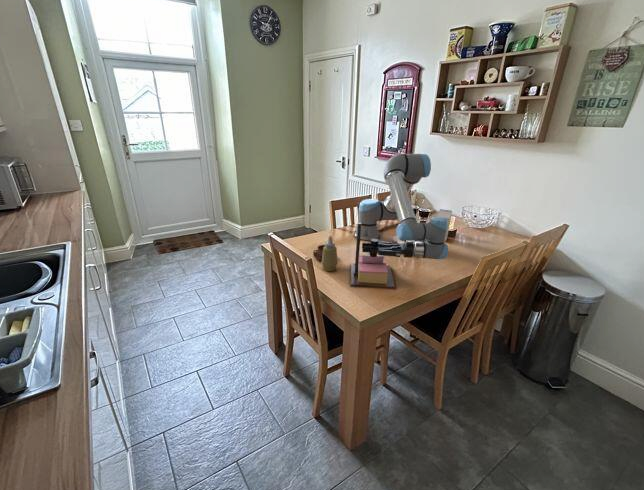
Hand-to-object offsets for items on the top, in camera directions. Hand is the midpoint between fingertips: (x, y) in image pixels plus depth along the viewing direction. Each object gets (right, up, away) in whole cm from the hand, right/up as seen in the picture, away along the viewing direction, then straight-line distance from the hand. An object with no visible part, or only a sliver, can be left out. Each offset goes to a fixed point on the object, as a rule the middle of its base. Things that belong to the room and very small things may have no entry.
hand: (362, 247), depth 154 cm
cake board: (+5, -14, +6) cm, 16 cm away
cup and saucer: (-18, -6, +24) cm, 31 cm away
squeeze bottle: (-15, -11, +12) cm, 23 cm away
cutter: (+5, -10, +4) cm, 12 cm away
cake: (+5, -14, +6) cm, 16 cm away
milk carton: (+56, +6, +53) cm, 78 cm away
